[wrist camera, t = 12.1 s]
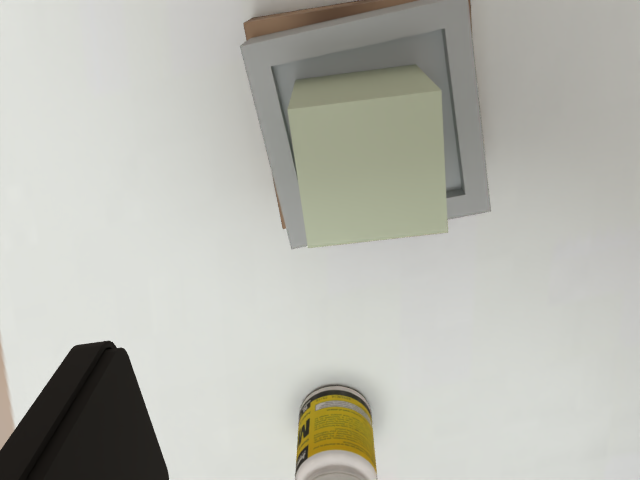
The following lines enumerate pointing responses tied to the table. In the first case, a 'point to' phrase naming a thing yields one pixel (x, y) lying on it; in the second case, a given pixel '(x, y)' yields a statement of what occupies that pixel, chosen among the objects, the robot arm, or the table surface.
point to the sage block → (369, 155)
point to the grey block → (369, 54)
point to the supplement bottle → (335, 437)
